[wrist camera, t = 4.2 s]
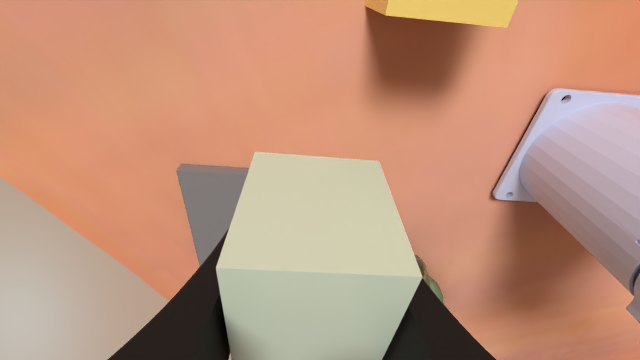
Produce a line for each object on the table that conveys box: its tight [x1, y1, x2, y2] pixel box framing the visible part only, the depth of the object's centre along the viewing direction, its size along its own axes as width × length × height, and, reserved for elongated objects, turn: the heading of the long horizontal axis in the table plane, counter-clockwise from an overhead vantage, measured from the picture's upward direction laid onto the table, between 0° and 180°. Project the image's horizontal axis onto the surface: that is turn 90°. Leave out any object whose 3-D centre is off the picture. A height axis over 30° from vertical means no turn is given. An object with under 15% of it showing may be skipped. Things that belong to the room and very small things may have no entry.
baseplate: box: [176, 164, 249, 266], centre depth 22 cm, size 10×10×1 cm
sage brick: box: [216, 152, 422, 360], centre depth 10 cm, size 4×6×5 cm
